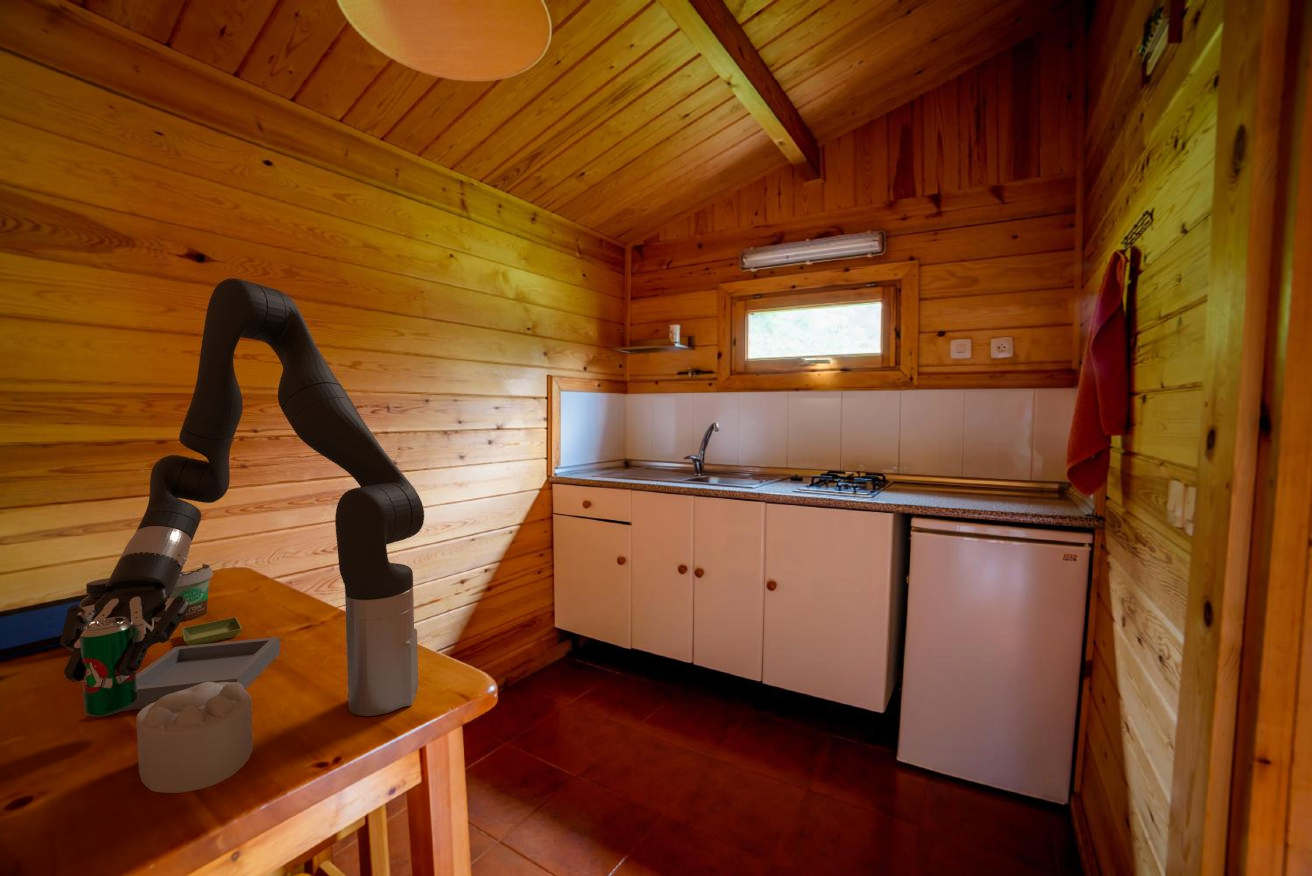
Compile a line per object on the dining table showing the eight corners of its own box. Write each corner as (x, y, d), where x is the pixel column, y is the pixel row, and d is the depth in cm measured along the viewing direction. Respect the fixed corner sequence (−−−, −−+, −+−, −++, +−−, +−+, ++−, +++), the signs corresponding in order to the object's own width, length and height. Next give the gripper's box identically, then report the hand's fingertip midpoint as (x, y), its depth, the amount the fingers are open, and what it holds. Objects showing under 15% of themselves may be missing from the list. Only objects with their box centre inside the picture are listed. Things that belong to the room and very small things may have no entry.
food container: (170, 630, 110) (168, 581, 109) (146, 627, 111) (144, 579, 111) (229, 608, 122) (227, 564, 122) (206, 606, 123) (205, 563, 123)
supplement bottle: (84, 653, 99) (81, 589, 99) (79, 644, 103) (75, 582, 103) (135, 641, 105) (132, 580, 104) (128, 632, 109) (125, 573, 108)
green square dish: (236, 626, 113) (236, 616, 113) (243, 638, 107) (242, 628, 107) (181, 638, 107) (181, 628, 107) (184, 652, 101) (184, 641, 100)
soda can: (134, 694, 77) (129, 612, 77) (140, 706, 74) (135, 621, 74) (83, 710, 74) (77, 623, 73) (87, 723, 70) (81, 633, 70)
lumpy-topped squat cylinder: (231, 726, 76) (228, 666, 76) (269, 760, 69) (267, 693, 68) (130, 766, 68) (127, 698, 67) (161, 809, 60) (158, 734, 60)
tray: (280, 652, 99) (279, 636, 99) (237, 697, 84) (237, 678, 84) (176, 663, 95) (175, 646, 95) (111, 712, 80) (110, 692, 80)
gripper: (79, 554, 78) (11, 674, 67) (196, 546, 82) (150, 659, 71) (108, 579, 84) (49, 694, 73) (217, 571, 87) (176, 679, 76)
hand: (99, 676), depth 72 cm, fingers closed on soda can, 5 cm apart
